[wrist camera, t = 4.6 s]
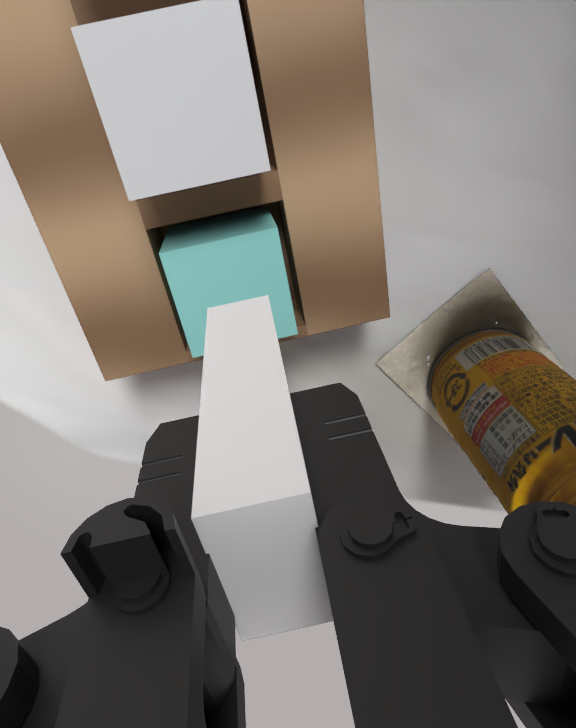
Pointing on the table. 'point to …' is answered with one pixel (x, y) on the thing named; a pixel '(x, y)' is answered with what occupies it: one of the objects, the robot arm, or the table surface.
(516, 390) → the condiment
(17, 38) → the wooden tray
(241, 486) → the robot arm
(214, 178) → the grey cube
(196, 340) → the teal cube
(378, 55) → the table surface
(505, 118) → the table surface
